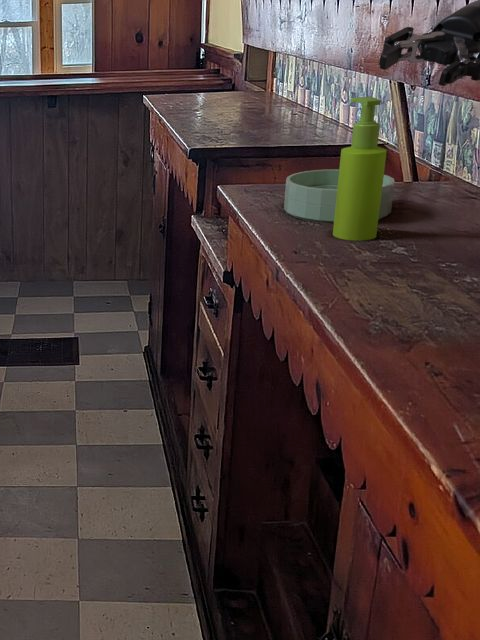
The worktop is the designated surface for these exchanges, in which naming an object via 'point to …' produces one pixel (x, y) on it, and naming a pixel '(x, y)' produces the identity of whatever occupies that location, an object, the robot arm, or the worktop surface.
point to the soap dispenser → (360, 178)
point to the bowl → (324, 195)
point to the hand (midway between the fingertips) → (412, 70)
